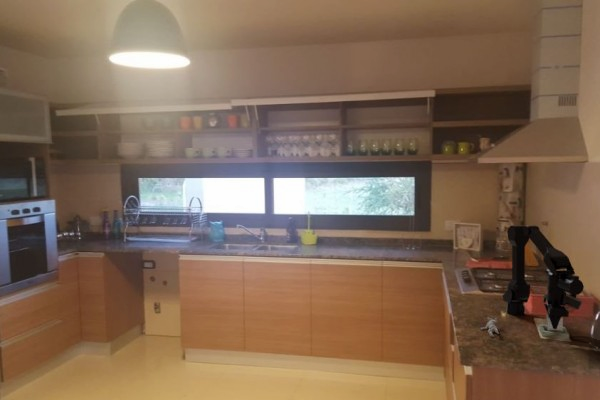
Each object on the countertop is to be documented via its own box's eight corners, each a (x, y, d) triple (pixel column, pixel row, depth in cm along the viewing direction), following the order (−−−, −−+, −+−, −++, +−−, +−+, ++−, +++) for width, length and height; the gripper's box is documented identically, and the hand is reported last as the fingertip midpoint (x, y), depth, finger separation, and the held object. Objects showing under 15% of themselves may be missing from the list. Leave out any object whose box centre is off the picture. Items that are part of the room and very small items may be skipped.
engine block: (547, 330, 174) (548, 317, 174) (545, 326, 178) (546, 314, 177) (562, 332, 172) (563, 319, 172) (560, 328, 176) (561, 315, 176)
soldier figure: (482, 338, 177) (475, 318, 187) (491, 346, 177) (483, 325, 188) (499, 327, 174) (491, 308, 185) (507, 335, 175) (499, 315, 185)
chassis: (540, 340, 172) (541, 332, 172) (533, 320, 193) (533, 313, 193) (571, 344, 169) (571, 336, 168) (560, 323, 190) (560, 316, 190)
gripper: (586, 296, 162) (583, 338, 164) (575, 282, 179) (573, 321, 181) (550, 293, 166) (548, 334, 168) (543, 280, 183) (541, 317, 185)
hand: (553, 326), depth 175 cm, fingers closed on engine block, 4 cm apart
